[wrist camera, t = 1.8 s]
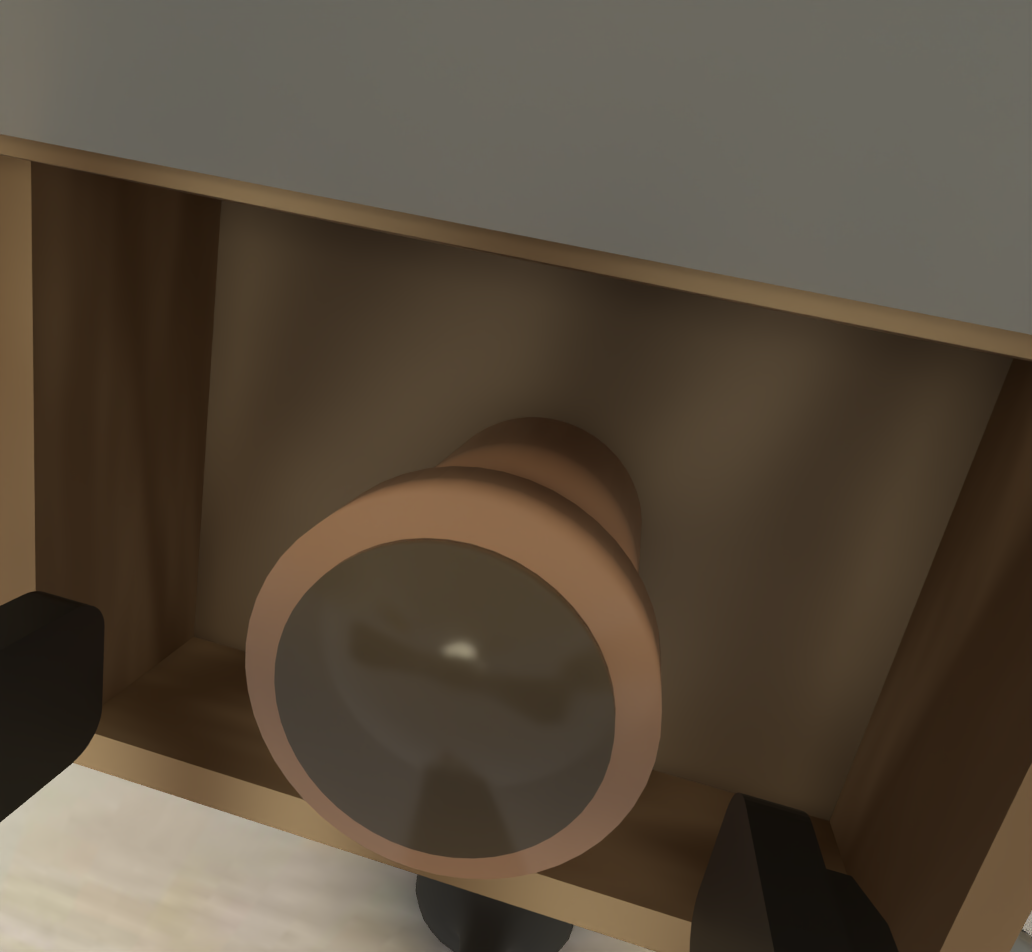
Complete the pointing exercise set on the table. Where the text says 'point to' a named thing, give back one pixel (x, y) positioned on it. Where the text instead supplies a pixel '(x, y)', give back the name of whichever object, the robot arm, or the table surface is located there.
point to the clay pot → (468, 657)
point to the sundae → (485, 921)
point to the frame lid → (589, 124)
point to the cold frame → (587, 405)
